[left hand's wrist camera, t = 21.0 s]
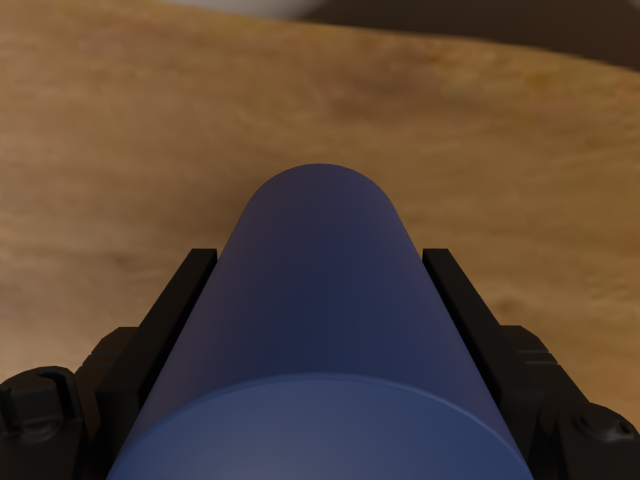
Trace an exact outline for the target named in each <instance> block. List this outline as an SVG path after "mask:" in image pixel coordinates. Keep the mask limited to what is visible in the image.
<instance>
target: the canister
mask: <svg viewBox="0 0 640 480" xmlns="http://www.w3.org/2000/svg"><path fill="white" fill-rule="evenodd" d="M106 480H534V479H533V476H532V474H531V472H530V470H529V468H528V466H527V464H526V462H525V460H524V458H523V456H522V454H521V452H520V450H519V449H518V447H517V445H516V443H515V441H514V439H513V437H512V435H511V433H510V431H509V429H508V427H507V425H506V423H505V421H504V419H503V418H502V416H501V414H500V412H499V410H498V408H497V406H496V404H495V402H494V400H493V398H492V396H491V394H490V392H489V390H488V388H487V387H486V385H485V383H484V381H483V379H482V377H481V375H480V373H479V371H478V369H477V367H476V365H475V363H474V361H473V359H472V357H471V356H470V354H469V352H468V350H467V348H466V346H465V344H464V342H463V340H462V338H461V336H460V334H459V332H458V330H457V328H456V326H455V325H454V323H453V321H452V319H451V317H450V315H449V313H448V311H447V309H446V307H445V305H444V303H443V301H442V299H441V297H440V295H439V293H438V292H437V290H436V288H435V286H434V284H433V282H432V280H431V278H430V276H429V274H428V272H427V270H426V268H425V266H424V264H423V262H422V261H421V259H420V257H419V255H418V253H417V251H416V249H415V247H414V245H413V243H412V241H411V239H410V237H409V235H408V233H407V231H406V230H405V228H404V226H403V224H402V222H401V220H400V218H399V216H398V214H397V212H396V210H395V208H394V206H393V204H392V203H391V201H390V200H389V198H388V197H387V195H386V194H385V193H384V192H383V191H382V190H381V189H380V188H379V187H378V186H377V185H376V184H375V183H374V182H372V181H371V180H370V179H368V178H367V177H365V176H364V175H362V174H360V173H358V172H356V171H354V170H351V169H348V168H345V167H342V166H337V165H331V164H308V165H302V166H298V167H294V168H291V169H289V170H286V171H284V172H282V173H280V174H278V175H276V176H274V177H273V178H271V179H270V180H268V181H267V182H266V183H265V184H263V185H262V186H261V187H260V188H259V189H258V190H257V191H256V193H255V194H254V195H253V196H252V197H251V199H250V200H249V202H248V204H247V205H246V207H245V209H244V211H243V213H242V215H241V217H240V219H239V221H238V223H237V225H236V227H235V228H234V230H233V232H232V234H231V236H230V238H229V240H228V242H227V244H226V246H225V248H224V250H223V252H222V254H221V256H220V258H219V260H218V262H217V263H216V265H215V267H214V269H213V271H212V273H211V275H210V277H209V279H208V281H207V283H206V285H205V287H204V289H203V291H202V293H201V295H200V296H199V298H198V300H197V302H196V304H195V306H194V308H193V310H192V312H191V314H190V316H189V318H188V320H187V322H186V324H185V326H184V328H183V330H182V331H181V333H180V335H179V337H178V339H177V341H176V343H175V345H174V347H173V349H172V351H171V353H170V355H169V357H168V359H167V361H166V363H165V365H164V366H163V368H162V370H161V372H160V374H159V376H158V378H157V380H156V382H155V384H154V386H153V388H152V390H151V392H150V394H149V396H148V398H147V400H146V401H145V403H144V405H143V407H142V409H141V411H140V413H139V415H138V417H137V419H136V421H135V423H134V425H133V427H132V429H131V431H130V433H129V435H128V436H127V438H126V440H125V442H124V444H123V446H122V448H121V450H120V452H119V454H118V456H117V458H116V460H115V462H114V464H113V466H112V468H111V470H110V471H109V473H108V476H107V478H106Z"/></svg>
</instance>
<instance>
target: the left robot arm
mask: <svg viewBox="0 0 640 480" xmlns="http://www.w3.org/2000/svg"><path fill="white" fill-rule="evenodd" d="M217 262H218V259H217V249H192V250H191V251H190V253H189V254H188V255H187V257H186V258H185V260H184V261H183V263H182V264H181V266H180V267H179V269H178V270H177V272H176V273H175V274H174V276H173V277H172V279H171V280H170V282H169V283H168V285H167V286H166V288H165V289H164V290H163V292H162V293H161V295H160V296H159V298H158V299H157V301H156V302H155V304H154V305H153V307H152V308H151V309H150V311H149V312H148V314H147V315H146V317H145V318H144V320H143V321H142V323H141V324H140V325H139V327H119V328H117V329H116V330H114V331H113V332H111V333H110V334H108V335H107V336H105V337H104V338H102V339H101V341H100V342H99V343H98V344H97V346H96V347H95V348H94V350H93V351H92V352H91V355H89V356H88V357H87V358H86V360H85V361H84V362H83V365H82V366H80V367H79V369H78V370H77V371H76V372H75V374H74V373H72V372H71V371H70V370H69V369H67V368H64V367H59V366H47V367H39V368H35V369H31V370H27V371H24V372H22V373H20V374H17V375H15V376H13V377H11V378H9V379H7V380H6V381H4V382H3V383H1V384H0V480H106V478H107V476H108V473H109V471H110V470H111V468H112V466H113V464H114V462H115V460H116V458H117V456H118V454H119V452H120V450H121V448H122V446H123V444H124V442H125V440H126V438H127V436H128V435H129V433H130V431H131V429H132V427H133V425H134V423H135V421H136V419H137V417H138V415H139V413H140V411H141V409H142V407H143V405H144V403H145V401H146V400H147V398H148V396H149V394H150V392H151V390H152V388H153V386H154V384H155V382H156V380H157V378H158V376H159V374H160V372H161V370H162V368H163V366H164V365H165V363H166V361H167V359H168V357H169V355H170V353H171V351H172V349H173V347H174V345H175V343H176V341H177V339H178V337H179V335H180V333H181V331H182V330H183V328H184V326H185V324H186V322H187V320H188V318H189V316H190V314H191V312H192V310H193V308H194V306H195V304H196V302H197V300H198V298H199V296H200V295H201V293H202V291H203V289H204V287H205V285H206V283H207V281H208V279H209V277H210V275H211V273H212V271H213V269H214V267H215V265H216V263H217ZM422 262H423V264H424V266H425V268H426V270H427V272H428V274H429V276H430V278H431V280H432V282H433V284H434V286H435V288H436V290H437V292H438V293H439V295H440V297H441V299H442V301H443V303H444V305H445V307H446V309H447V311H448V313H449V315H450V317H451V319H452V321H453V323H454V325H455V326H456V328H457V330H458V332H459V334H460V336H461V338H462V340H463V342H464V344H465V346H466V348H467V350H468V352H469V354H470V356H471V357H472V359H473V361H474V363H475V365H476V367H477V369H478V371H479V373H480V375H481V377H482V379H483V381H484V383H485V385H486V387H487V388H488V390H489V392H490V394H491V396H492V398H493V400H494V402H495V404H496V406H497V408H498V410H499V412H500V414H501V416H502V418H503V419H504V421H505V423H506V425H507V427H508V429H509V431H510V433H511V435H512V437H513V439H514V441H515V443H516V445H517V447H518V449H519V450H520V452H521V454H522V456H523V458H524V460H525V462H526V464H527V466H528V468H529V470H530V472H531V474H532V476H533V479H534V480H640V434H639V433H638V432H637V430H636V429H635V427H634V426H633V425H632V424H631V423H630V422H629V421H627V420H626V419H625V418H624V417H622V416H621V415H620V414H618V413H616V412H614V411H612V410H610V409H608V408H606V407H603V406H600V405H597V404H594V403H590V402H589V401H588V400H587V398H586V397H585V396H584V395H583V393H582V392H581V391H580V390H579V388H578V387H577V386H576V385H575V383H574V382H573V381H572V380H571V378H570V377H569V376H568V375H567V373H566V372H565V371H564V369H563V368H562V367H561V366H560V365H558V364H557V361H556V359H555V358H554V357H553V356H552V354H551V353H549V352H548V349H547V348H546V347H545V346H544V344H543V343H542V342H541V341H540V339H539V338H538V337H537V336H535V335H534V334H532V333H531V332H529V331H528V330H526V329H525V328H523V327H522V326H500V325H499V323H498V322H497V320H496V319H495V317H494V316H493V314H492V313H491V311H490V310H489V309H488V307H487V306H486V304H485V303H484V301H483V300H482V298H481V297H480V295H479V294H478V292H477V291H476V290H475V288H474V287H473V285H472V284H471V282H470V281H469V279H468V278H467V276H466V275H465V274H464V272H463V271H462V269H461V268H460V266H459V265H458V263H457V262H456V260H455V259H454V257H453V256H452V255H451V253H450V252H449V250H448V249H423V256H422Z"/></svg>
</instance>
